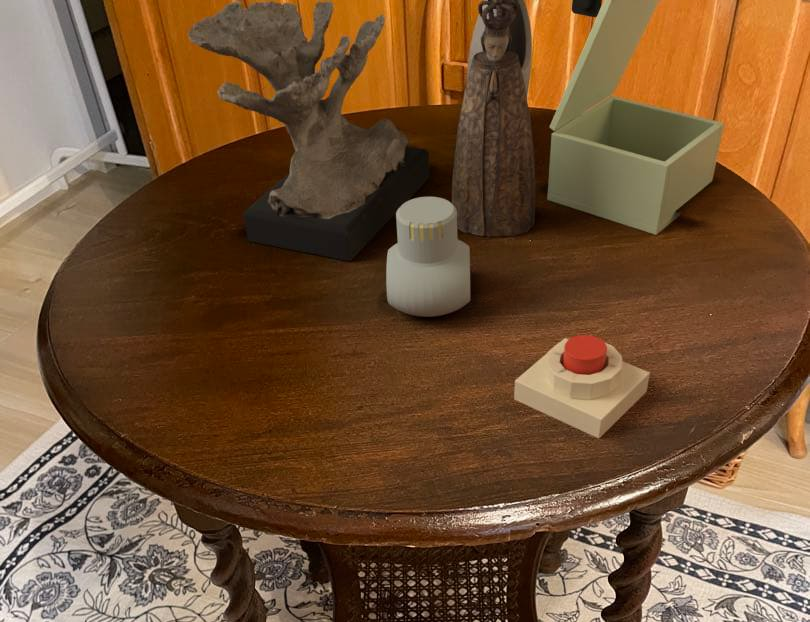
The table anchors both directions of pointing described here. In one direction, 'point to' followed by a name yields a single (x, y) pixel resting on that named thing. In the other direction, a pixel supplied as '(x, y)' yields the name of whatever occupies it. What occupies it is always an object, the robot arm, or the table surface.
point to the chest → (632, 162)
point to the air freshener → (428, 260)
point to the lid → (604, 56)
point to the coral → (315, 131)
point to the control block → (582, 390)
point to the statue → (494, 137)
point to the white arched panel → (520, 39)
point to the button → (584, 355)
